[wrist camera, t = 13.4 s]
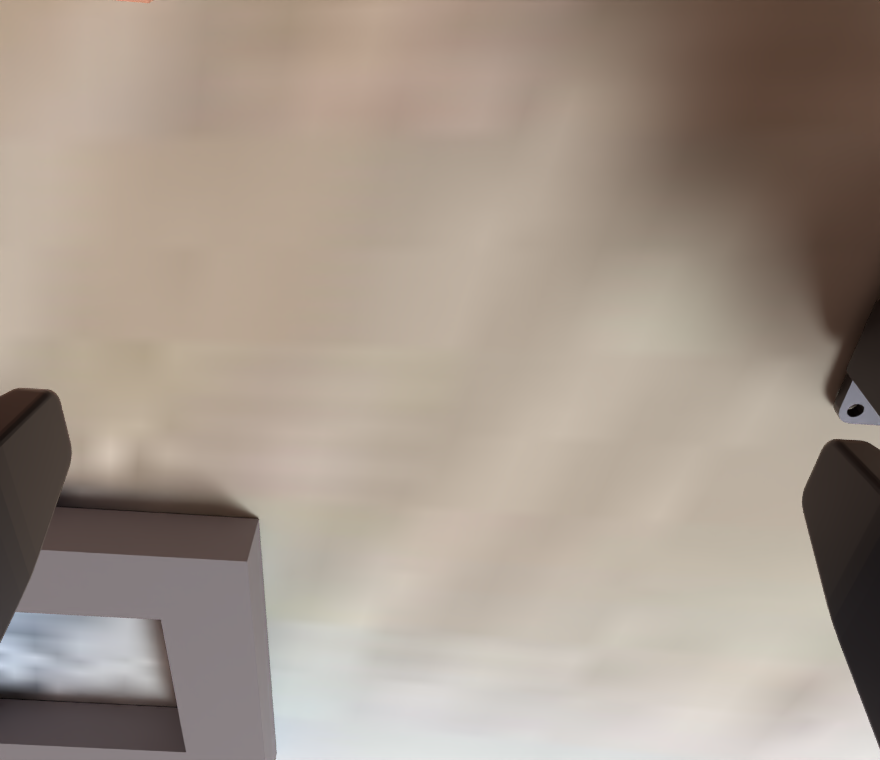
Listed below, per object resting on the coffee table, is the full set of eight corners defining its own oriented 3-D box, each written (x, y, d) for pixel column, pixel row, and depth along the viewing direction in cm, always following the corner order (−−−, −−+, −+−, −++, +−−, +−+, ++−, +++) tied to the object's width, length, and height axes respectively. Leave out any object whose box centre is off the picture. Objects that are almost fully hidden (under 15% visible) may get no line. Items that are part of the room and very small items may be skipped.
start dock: (258, 518, 28) (247, 561, 26) (276, 753, 37) (268, 796, 35) (-177, 493, 28) (-217, 535, 26) (-56, 737, 36) (-80, 780, 34)
